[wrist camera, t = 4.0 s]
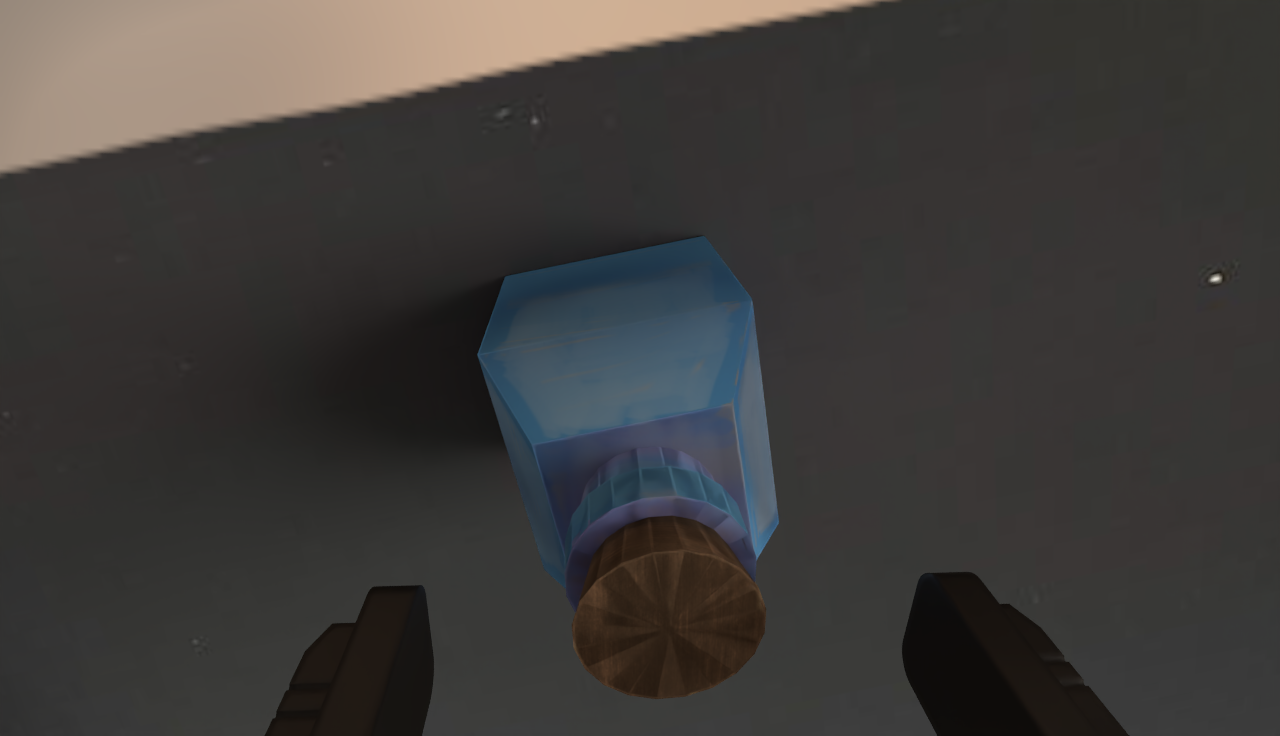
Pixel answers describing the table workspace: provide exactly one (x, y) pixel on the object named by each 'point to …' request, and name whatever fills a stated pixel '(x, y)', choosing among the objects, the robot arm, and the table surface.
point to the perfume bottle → (641, 457)
